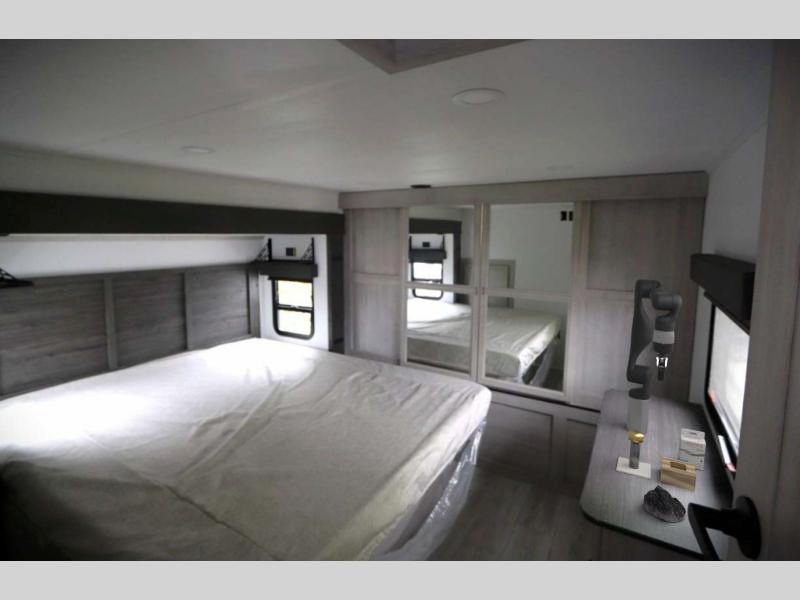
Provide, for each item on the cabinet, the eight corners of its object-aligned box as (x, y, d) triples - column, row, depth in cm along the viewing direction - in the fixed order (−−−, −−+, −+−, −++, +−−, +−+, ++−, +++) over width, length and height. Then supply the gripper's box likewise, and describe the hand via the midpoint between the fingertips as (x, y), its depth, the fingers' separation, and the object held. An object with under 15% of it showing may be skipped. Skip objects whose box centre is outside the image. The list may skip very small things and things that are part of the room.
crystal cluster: (677, 504, 150) (676, 477, 150) (694, 526, 137) (693, 496, 137) (636, 502, 153) (635, 475, 153) (650, 523, 140) (648, 494, 140)
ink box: (678, 465, 175) (681, 432, 172) (677, 460, 179) (680, 427, 177) (703, 470, 170) (706, 437, 168) (702, 465, 174) (705, 432, 172)
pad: (618, 458, 181) (618, 456, 181) (650, 465, 174) (651, 464, 174) (616, 470, 171) (616, 469, 171) (650, 479, 164) (650, 478, 164)
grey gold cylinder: (626, 462, 176) (628, 428, 174) (641, 465, 173) (644, 431, 171) (625, 468, 172) (628, 433, 170) (641, 471, 169) (643, 437, 167)
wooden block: (660, 469, 171) (661, 456, 170) (693, 477, 165) (694, 463, 165) (660, 482, 162) (661, 468, 161) (694, 491, 156) (696, 476, 155)
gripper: (653, 336, 183) (650, 371, 185) (652, 343, 171) (649, 381, 173) (673, 338, 179) (670, 374, 181) (674, 345, 167) (671, 384, 169)
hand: (660, 377), depth 177 cm, fingers open, 8 cm apart
